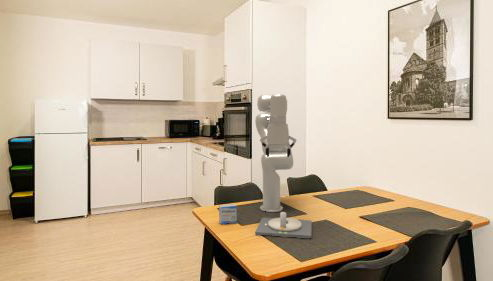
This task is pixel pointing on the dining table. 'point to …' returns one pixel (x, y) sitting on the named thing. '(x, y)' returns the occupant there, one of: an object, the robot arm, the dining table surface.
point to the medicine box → (227, 213)
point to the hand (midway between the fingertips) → (278, 156)
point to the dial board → (300, 233)
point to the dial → (284, 223)
